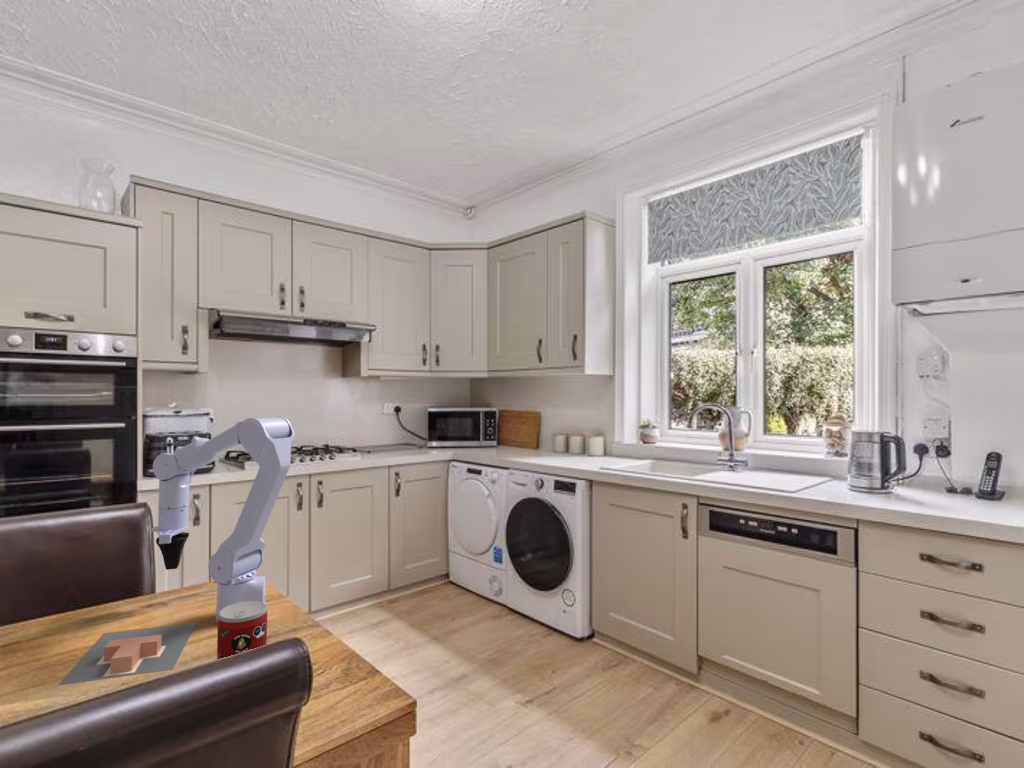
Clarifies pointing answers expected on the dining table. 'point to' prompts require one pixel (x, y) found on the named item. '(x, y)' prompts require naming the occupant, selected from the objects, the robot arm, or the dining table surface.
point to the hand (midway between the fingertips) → (172, 568)
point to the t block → (130, 651)
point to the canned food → (241, 628)
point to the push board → (164, 660)
